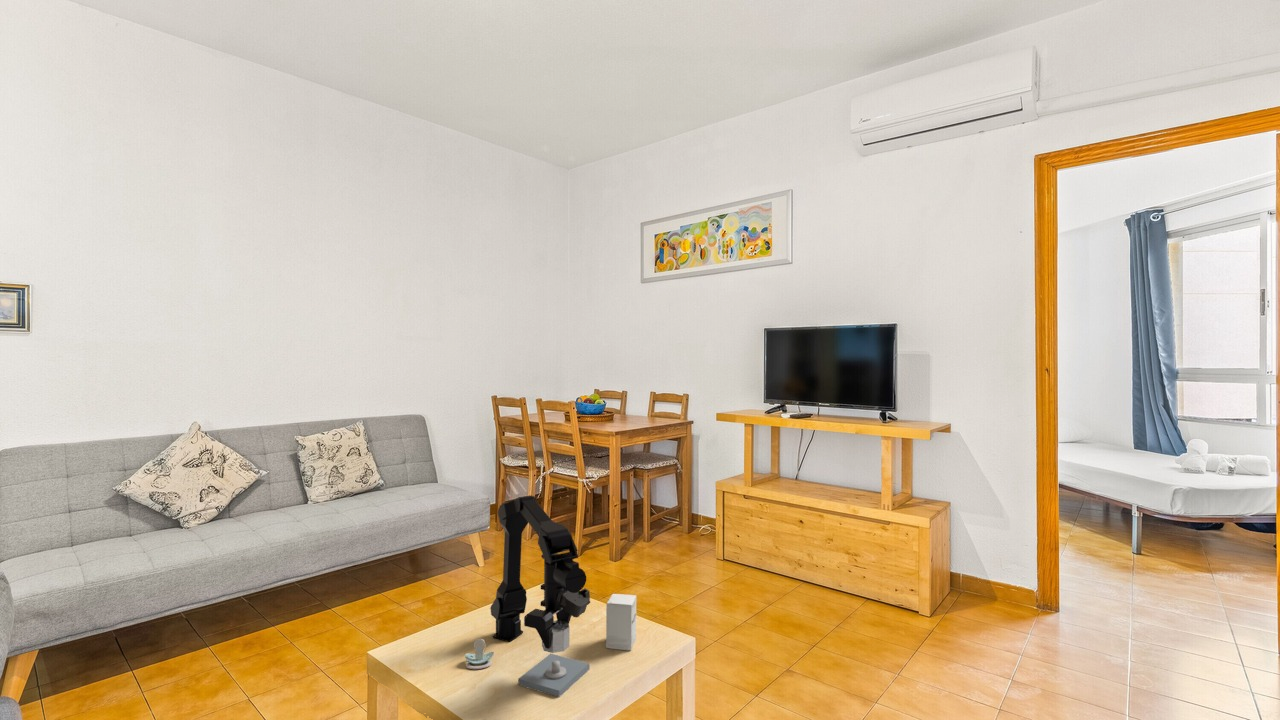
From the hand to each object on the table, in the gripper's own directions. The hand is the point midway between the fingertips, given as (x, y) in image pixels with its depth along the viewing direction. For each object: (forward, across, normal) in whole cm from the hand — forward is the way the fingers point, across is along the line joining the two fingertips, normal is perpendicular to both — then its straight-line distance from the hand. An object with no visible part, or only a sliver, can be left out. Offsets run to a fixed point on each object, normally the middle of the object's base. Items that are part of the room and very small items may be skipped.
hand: (555, 642), depth 148 cm
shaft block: (+9, +1, +1) cm, 9 cm away
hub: (+1, 0, 0) cm, 1 cm away
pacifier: (+10, -2, +22) cm, 24 cm away
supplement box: (+10, +24, -6) cm, 27 cm away
